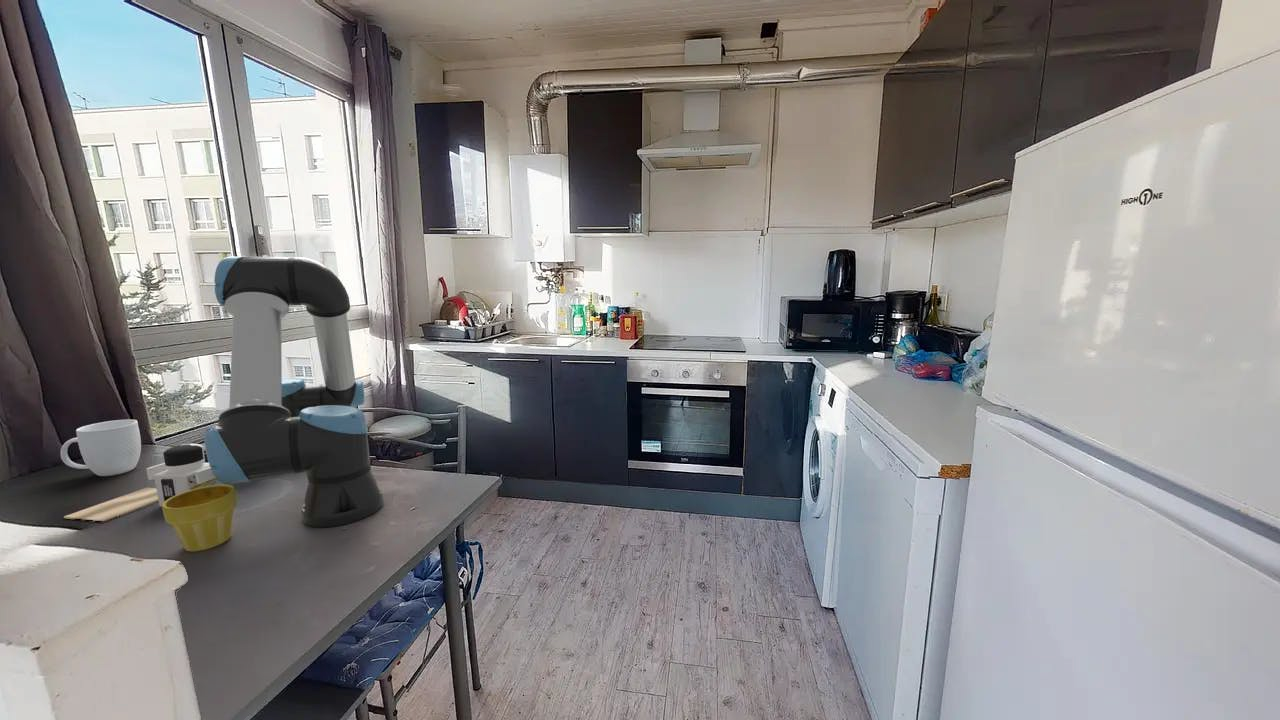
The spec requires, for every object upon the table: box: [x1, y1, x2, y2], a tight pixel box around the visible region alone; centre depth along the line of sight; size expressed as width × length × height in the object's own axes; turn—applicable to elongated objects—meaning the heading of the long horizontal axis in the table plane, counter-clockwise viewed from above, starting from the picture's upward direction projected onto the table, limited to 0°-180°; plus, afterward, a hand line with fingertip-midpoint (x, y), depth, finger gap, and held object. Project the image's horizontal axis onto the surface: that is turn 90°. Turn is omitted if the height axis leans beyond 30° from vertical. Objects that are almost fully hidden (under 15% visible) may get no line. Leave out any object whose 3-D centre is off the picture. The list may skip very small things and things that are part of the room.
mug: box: [60, 419, 142, 477], centre depth 126 cm, size 15×11×13 cm
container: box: [153, 443, 221, 508], centre depth 109 cm, size 8×8×13 cm
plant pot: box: [161, 484, 238, 553], centre depth 91 cm, size 10×10×10 cm
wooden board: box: [63, 487, 159, 523], centre depth 108 cm, size 11×15×1 cm
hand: (172, 476), depth 106 cm, fingers open, 13 cm apart
